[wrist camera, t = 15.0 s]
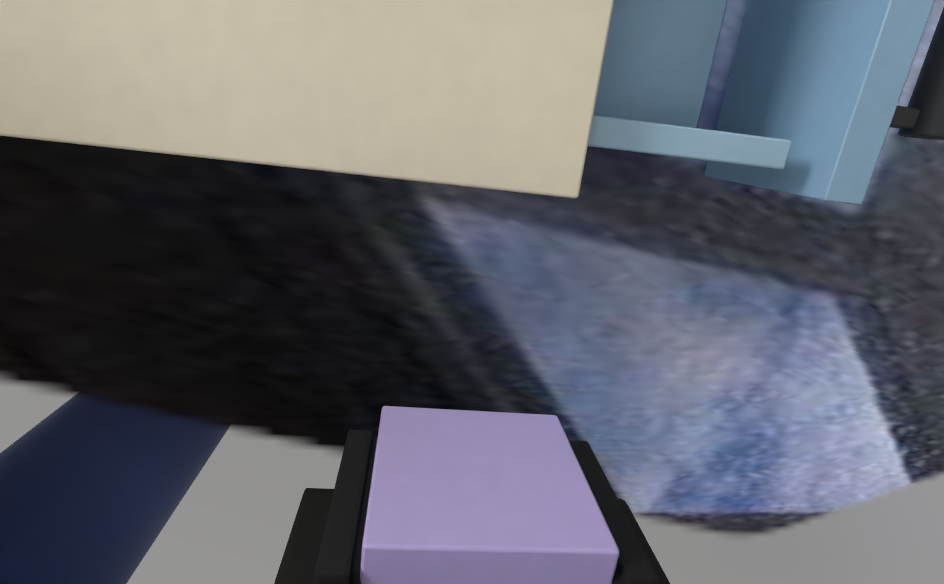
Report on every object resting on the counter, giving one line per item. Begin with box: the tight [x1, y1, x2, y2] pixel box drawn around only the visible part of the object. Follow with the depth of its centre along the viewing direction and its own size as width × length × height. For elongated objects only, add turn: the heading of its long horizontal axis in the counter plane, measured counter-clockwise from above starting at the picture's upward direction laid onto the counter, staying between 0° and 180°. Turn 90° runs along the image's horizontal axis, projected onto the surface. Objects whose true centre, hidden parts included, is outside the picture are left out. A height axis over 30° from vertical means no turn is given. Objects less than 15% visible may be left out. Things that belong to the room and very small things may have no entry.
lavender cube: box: [360, 406, 619, 584], centre depth 10 cm, size 4×4×4 cm
